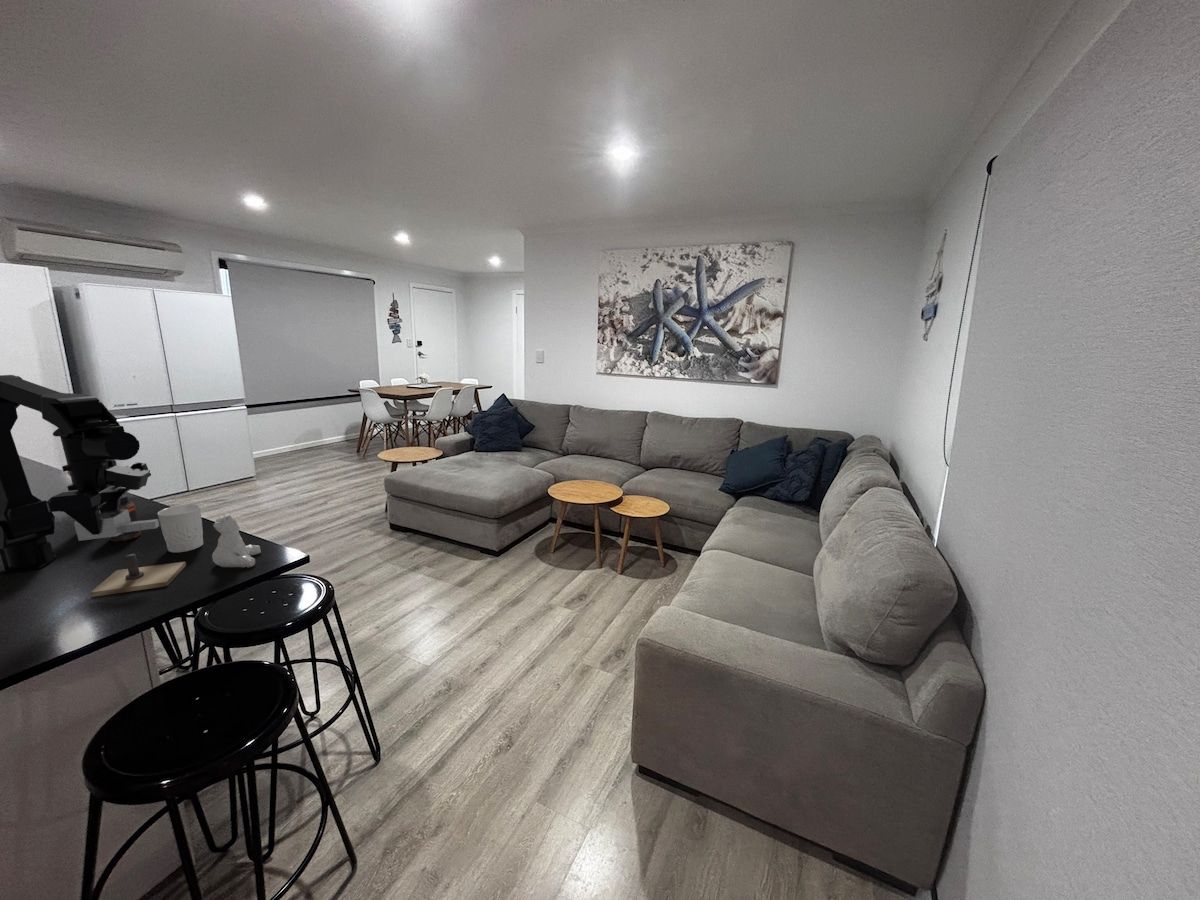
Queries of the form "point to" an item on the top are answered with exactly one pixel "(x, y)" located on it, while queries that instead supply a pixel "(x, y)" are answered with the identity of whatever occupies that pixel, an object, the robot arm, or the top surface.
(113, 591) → the board
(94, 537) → the white handled block
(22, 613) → the top surface
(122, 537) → the supplement bottle
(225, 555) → the sitting furry creature
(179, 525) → the white cup
